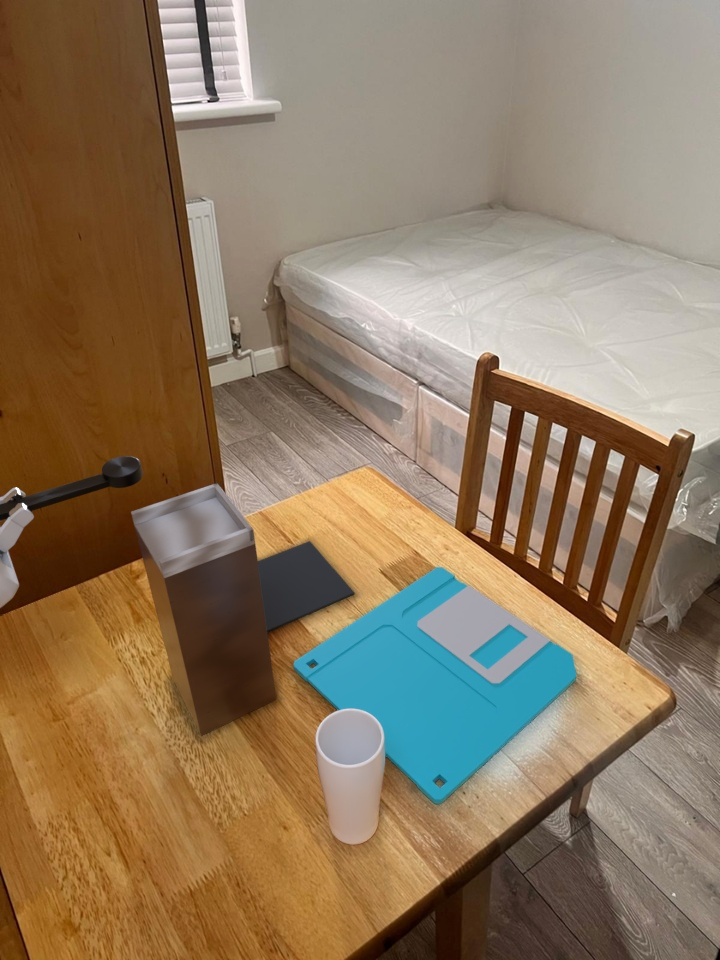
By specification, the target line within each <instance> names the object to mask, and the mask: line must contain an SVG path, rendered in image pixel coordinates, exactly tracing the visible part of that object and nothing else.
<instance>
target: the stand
mask: <svg viewBox="0 0 720 960" xmlns="http://www.w3.org/2000/svg"><path fill="white" fill-rule="evenodd" d="M130 514H131V518H132V522H133V526H134V530H135V533H136V539H137V542H138V545H139V549H140V554H141V557H142V561H143V566H144V569H145V573H146V577H147V581H148V585H149V589H150V593H151V598H152V602H153V606H154V609H155V613H156V617H157V621H158V624H159V625H158V626H159V628H160V632H161V633H160V634H161V637H162V640H163V641H162V642H163V645H164V649H165V653H166V656H167V661H168V664H169V669H170V672H171V676H172V680H173V682H174V684H175V686H176V688H177V691H178V692H179V695H180V697H181V698H182V700H183V703H184V704H185V707H186V709H187V710H188V712H189V714H190V716H191V718H192V721H193V722H194V724H195V727H196V729H197V730H198V732H199V735H200V736H201V737H202V736H205V735H207V734H209V733H211V732H212V731H215V730H216V729H217V730H218V729H219V728H222V727H223V726H225V725H227V724H230V723H231V722H234V721H236V720H238V719H240V718H242V717H244V716H246V715H249V714H251V713H252V712H254V711H256V710H258V709H260V708H262V707H265V706H267V705H269V704H271V703H273V702H275V701H277V696H276V695H277V694H276V687H275V680H274V672H273V665H272V657H271V651H270V643H269V635H268V632H267V627H266V619H265V612H264V605H263V597H262V590H261V582H260V575H259V567H258V561H259V560H258V553H257V546H256V545H257V544H256V540H255V539H256V537H255V531H254V528H253V527H252V525H251V524H250V522H249V521H247V519H246V517H245V516H244V515H243V513H242V512H241V511H240V509H238V508H237V506H236V505H235V504H234V502H233V501H232V500H231V499H230V498H229V496H228V495H227V493H226V492H225V491H224V490H223V488H222V487H221V486H220V484H219V483H218V482H216V483H212V484H210V485H207V486H204V487H201V488H198V489H195V490H192V491H188V492H186V493H183V494H180V495H177V496H174V497H170V498H168V499H165V500H162V501H159V502H156V503H153V504H150V505H147V506H144V507H141V508H138V509H135V510H132V511H130Z"/></svg>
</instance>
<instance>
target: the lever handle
mask: <svg viewBox="0 0 720 960" xmlns="http://www.w3.org/2000/svg"><path fill="white" fill-rule="evenodd" d="M143 476H144V472H143V468H142V463H141V461H140V459H138V458H137V457H134V456H131V455H124V456H117V457H114V458H112V459H109V460H107V461H106V462H105V463H104V464H103V465H102V467H101V473H98V474H96V475H93V476H89V477H86V478H82V479H78V480H76V481H73V482H70V483H66V484H63V485H59V486H56V487H52V488H49V489H46V490H43V491H40V492H36V493H33V494H29V495H26V497H23V498H19V499H16V500H13V501H10V502H6V503H3V504H0V521H1V520H2V521H5V520H7V519H8V518H9V512H10V511H11V510H12V509H13V508H15V507H16V505H17V504H19V503H24V504H25V505H26V506H28V507H29V508H31V510H32V512H34V511H36V510H39V509H43V508H46V507H49V506H52V505H56V504H59V503H62V502H65V501H68V500H72V499H75V498H79V497H81V496H84V495H87V494H91V493H94V492H98V491H100V490H103V489H106V488H107V489H108V488H109V487H110V488H112V489H124V488H128V487H132V486H134V485H136V484H138V483H139V482H140V481H141V480H142V478H143ZM2 521H1V522H2Z"/></svg>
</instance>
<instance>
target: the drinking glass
mask: <svg viewBox="0 0 720 960" xmlns="http://www.w3.org/2000/svg"><path fill="white" fill-rule="evenodd" d="M314 740H315V762H316V768H317V775H318V778H319V782H320V787H321V791H322V796H323V799H324V804H325V808H326V812H327V820H328V827H329V830H330V831H331V833H332V835H333V837H335V838H336V839H337V840H338V841H339V842H341V843H343V844H346V845H351V846H352V845H361V844H364V843H365V842H367V841H368V840H369V839H372V837H373V836H374V834H375V833H376V831H377V829H378V826H379V820H380V819H379V818H380V817H379V816H380V815H379V814H380V813H379V812H380V805H381V804H380V803H381V796H382V789H383V783H384V776H385V768H386V756H385V739H384V731H383V728H382V726H381V724H380V723H379V721H378V720H377V719H376V718H375V717H374V716H373V715H371V714H369V713H368V712H366V711H363V710H359V709H342V710H339V711H338V710H336V711H333V712H332V713H330V714H328V715H327V716H326V717H325V718H324V719H323V720H322V721H321V722H320V724H319V725H318V727H317V729H316V733H315V739H314Z"/></svg>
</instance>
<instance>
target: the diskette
mask: <svg viewBox="0 0 720 960" xmlns="http://www.w3.org/2000/svg"><path fill="white" fill-rule="evenodd" d="M312 664H314V665H315V666H314V667H310V666H311V665H312ZM293 670H294V671H295V673H296V674H298V675H299V677H301V679H303V680H304V681H305V682H307V683H308V684H309V685H311V687H313V688H314V689H315V690H316V691H317V692H318V693H319V694H320V695H321V696H322V697H323V698H324V699H325V700H326V701H327V702H328V703H329V704H331V706H333V708H335V710H336V711H339V710H342V709H359V710H363V711H366V712H368V713H369V714H371V715H373V716H374V717H375V718H376V719H377V720H378V721H379V723H380V724H381V726H382V728H383V731H384V739H385V758H386V757H387V759H388V760H389V761H390V762H392V764H394V766H396V767H397V768H398V769H399V770H400V771H401V772H402V773H403V774H404V775H405V776H406V777H407V778H408V779H409V780H410V781H412V782H413V784H414V785H416V787H417V788H418V790H420V792H422V793H423V794H424V795H425V796H426V797H427V798H428V799H429V800H430V801H431V802H432V803H433V804H435V805H441V804H443V803H444V802H445V801H446V800H447V799H448V798H449V797H450V796H451V795H452V794H454V792H456V791H457V790H458V789H459V788H460V787H461V786H462V785H464V784H465V782H467V781H468V780H469V779H470V778H471V777H473V775H474V774H476V773H477V772H478V771H479V770H480V769H481V768H482V767H483V766H484V765H485V764H486V763H487V762H488V761H490V760H491V759H492V758H493V757H494V756H496V754H497V753H498V752H500V750H502V749H503V748H504V747H505V746H506V745H507V744H508V743H509V742H511V740H513V738H515V737H516V736H517V735H518V734H519V733H520V732H521V731H522V730H524V728H526V727H527V726H528V725H529V724H530V723H531V722H532V721H533V720H534V719H535V718H537V717H538V716H539V715H540V714H541V713H542V712H543V711H544V710H545V709H547V708H548V707H549V706H550V705H551V704H552V703H553V702H554V701H555V700H556V699H557V698H558V697H560V696H561V695H562V694H563V693H564V692H565V691H566V690H567V689H568V688H569V687H571V685H573V684H574V683H575V682H576V681H577V676H578V675H577V672H576V665H575V660H574V655H573V653H571V652H569V651H568V650H566V649H565V648H563V647H562V646H560V645H559V644H557V643H556V644H555V643H554V642H553V641H552V639H550V638H549V637H547V636H545V635H544V634H542V633H541V632H539V631H538V630H537V629H535V628H534V627H532V626H530V625H529V624H528V623H526V622H525V621H523V620H522V619H521V618H519V617H517V616H515V614H513V613H511V612H510V611H508V610H507V609H506V608H504V607H502V606H501V605H499V604H498V603H496V602H495V601H493V600H492V599H490V598H489V597H487V596H486V595H484V594H483V593H481V592H480V591H479V590H477V589H475V588H474V587H473V586H471V585H467V584H466V583H464V582H461V581H460V580H458V579H457V578H456V576H455V574H453V573H451V572H450V571H448V570H447V569H446V568H444V567H442V566H437V567H435V568H433V569H432V570H430V571H429V572H427V573H426V574H425V575H423V576H421V577H420V578H418V579H416V580H415V581H414V582H412V583H410V585H408V586H406V587H404V588H403V589H402V590H400V591H399V592H397V593H395V594H394V595H393V596H391V597H389V598H388V599H387V600H385V601H383V602H382V603H380V604H379V605H377V606H376V607H375V608H373V609H372V610H370V611H368V612H367V613H365V614H364V615H362V616H361V617H359V618H358V619H356V620H355V621H353V622H351V623H350V624H349V625H347V626H346V627H344V628H342V629H341V630H340V631H338V632H336V633H335V634H333V635H332V636H330V637H329V638H328V639H326V640H324V641H323V642H321V643H320V644H318V645H317V646H315V647H314V648H313V649H311V650H309V651H308V652H306V653H305V654H303V655H301V656H300V657H299V658H297V659H296V660H294V661H293ZM438 780H440V781H442V782H443V783H444V784H443V785H442V786H440V787H439V786H438V785H437V784H436V782H437V781H438Z"/></svg>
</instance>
